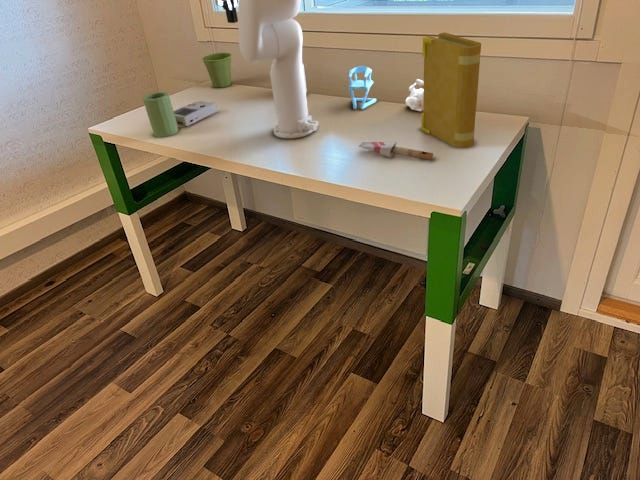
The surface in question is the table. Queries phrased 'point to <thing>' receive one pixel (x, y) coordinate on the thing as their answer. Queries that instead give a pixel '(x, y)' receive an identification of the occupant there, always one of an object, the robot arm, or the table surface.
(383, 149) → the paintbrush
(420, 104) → the rabbit figurine
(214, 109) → the handheld gaming device
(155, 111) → the cylindrical cup
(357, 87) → the chair
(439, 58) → the book
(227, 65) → the plant pot
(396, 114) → the table surface
